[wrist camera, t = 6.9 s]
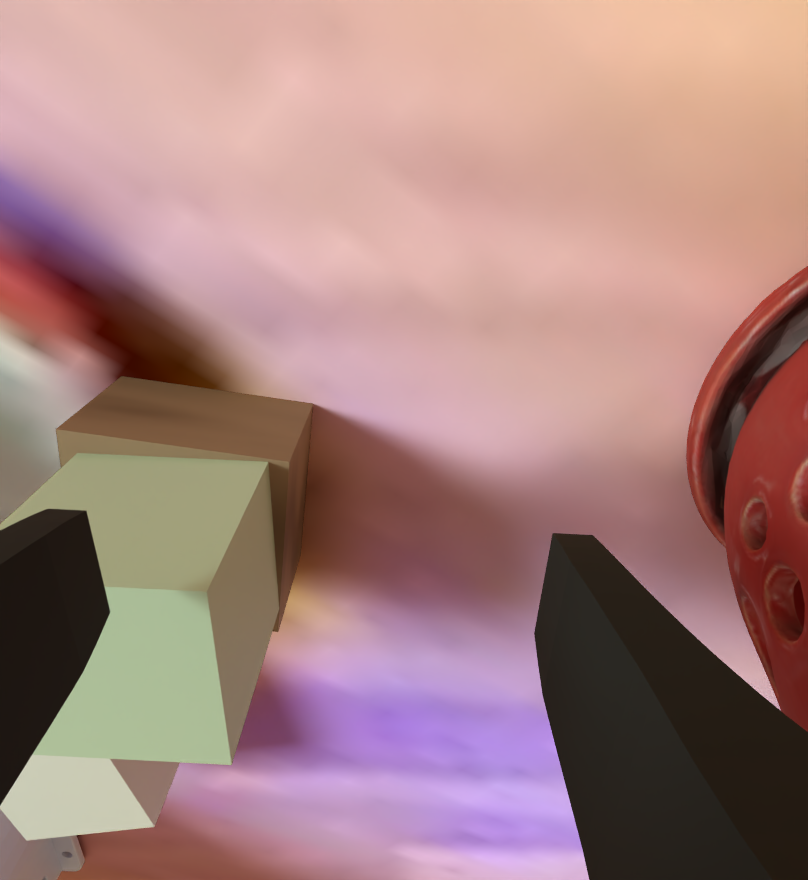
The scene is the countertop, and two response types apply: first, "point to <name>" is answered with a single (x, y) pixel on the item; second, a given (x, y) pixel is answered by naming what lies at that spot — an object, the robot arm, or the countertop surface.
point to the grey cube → (86, 795)
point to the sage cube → (168, 604)
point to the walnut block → (206, 443)
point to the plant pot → (762, 480)
